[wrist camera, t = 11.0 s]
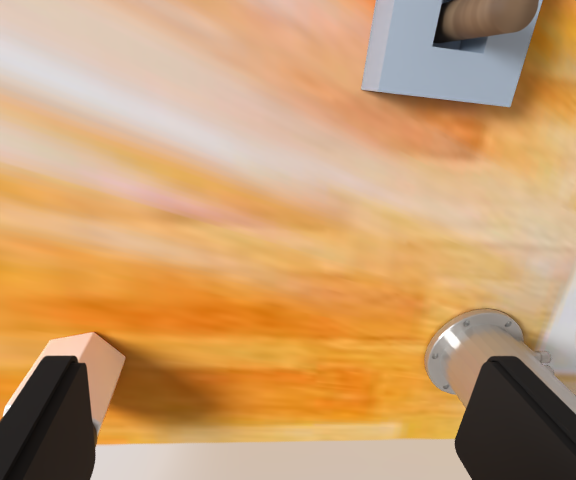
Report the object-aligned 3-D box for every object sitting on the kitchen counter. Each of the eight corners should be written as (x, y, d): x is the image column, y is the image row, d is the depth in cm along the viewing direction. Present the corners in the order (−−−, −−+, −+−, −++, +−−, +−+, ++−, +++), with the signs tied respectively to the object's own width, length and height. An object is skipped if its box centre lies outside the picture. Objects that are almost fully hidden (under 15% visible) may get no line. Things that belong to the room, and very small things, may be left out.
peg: (460, 7, 34) (545, -18, 25) (451, 45, 35) (529, 35, 26) (428, 1, 34) (502, -26, 24) (420, 41, 35) (488, 29, 26)
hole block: (520, -45, 34) (561, -62, 29) (479, 103, 38) (510, 107, 34) (387, -70, 32) (411, -92, 27) (361, 89, 36) (377, 91, 32)
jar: (23, 360, 42) (-49, 461, 31) (78, 316, 41) (23, 405, 30) (90, 405, 46) (45, 511, 35) (142, 366, 44) (113, 462, 34)
